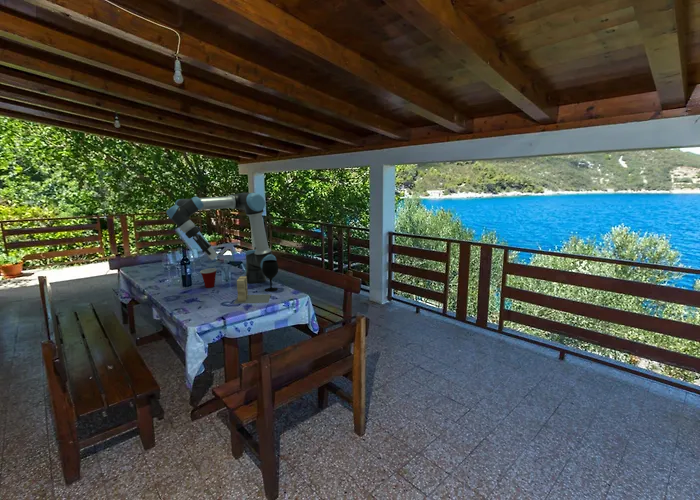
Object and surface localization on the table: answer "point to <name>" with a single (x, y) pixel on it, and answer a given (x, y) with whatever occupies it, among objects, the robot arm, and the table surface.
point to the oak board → (242, 288)
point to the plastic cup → (209, 277)
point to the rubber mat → (255, 299)
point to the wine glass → (270, 272)
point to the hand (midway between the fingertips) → (215, 257)
